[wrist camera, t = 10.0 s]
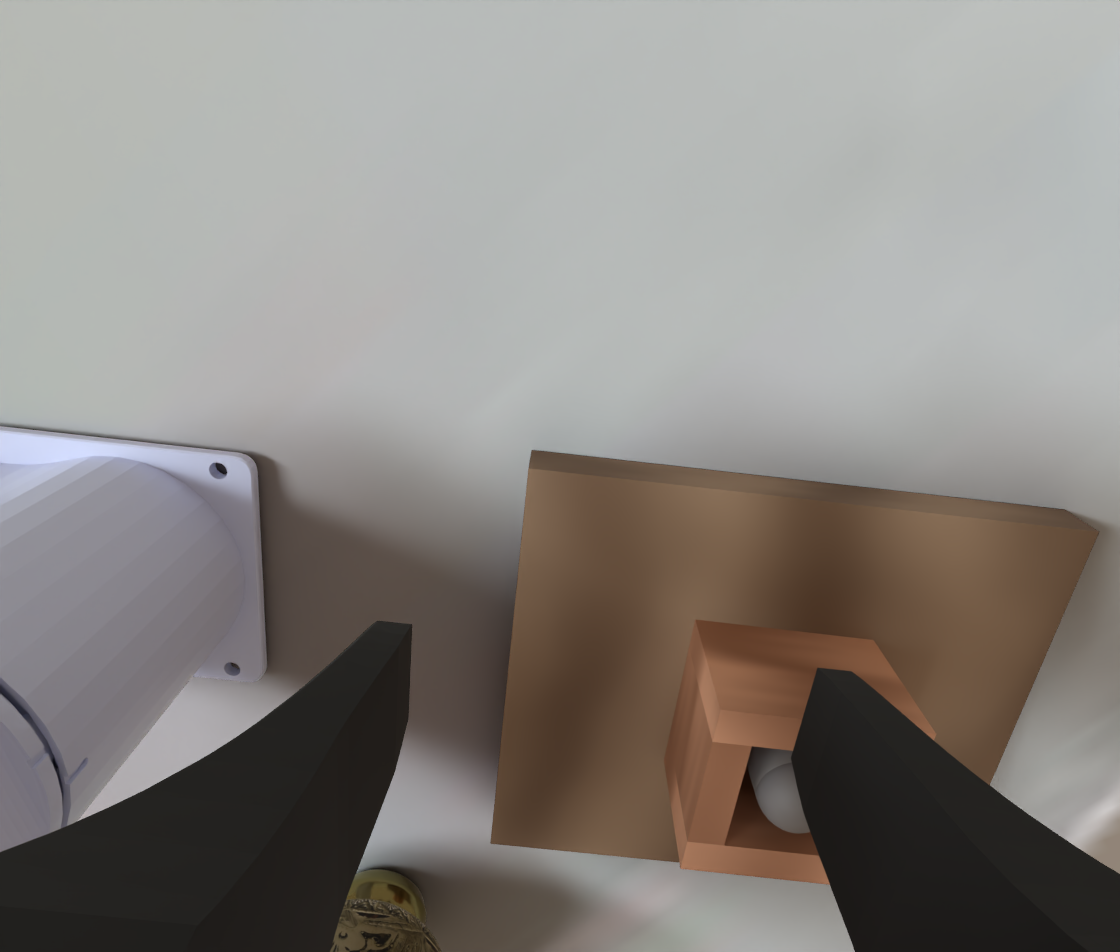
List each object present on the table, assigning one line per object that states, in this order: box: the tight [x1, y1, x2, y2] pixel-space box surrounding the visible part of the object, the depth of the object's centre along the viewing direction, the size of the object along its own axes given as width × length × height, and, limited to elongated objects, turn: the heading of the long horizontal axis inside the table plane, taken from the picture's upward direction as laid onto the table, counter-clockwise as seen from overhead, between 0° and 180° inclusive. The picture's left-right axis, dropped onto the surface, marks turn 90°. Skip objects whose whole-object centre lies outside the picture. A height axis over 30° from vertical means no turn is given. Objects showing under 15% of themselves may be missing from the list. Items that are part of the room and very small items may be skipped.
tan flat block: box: [491, 450, 1099, 862], centre depth 21 cm, size 16×14×6 cm
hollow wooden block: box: [664, 619, 936, 884], centre depth 20 cm, size 5×5×4 cm
